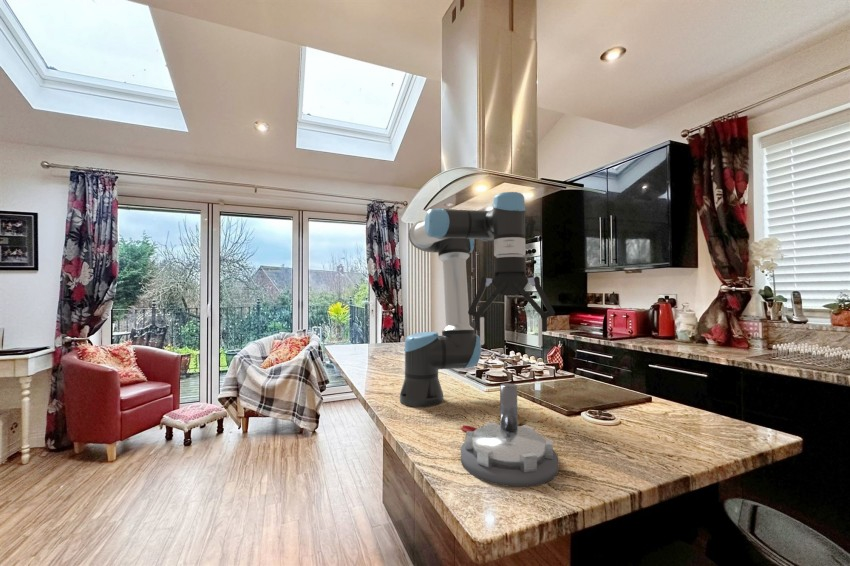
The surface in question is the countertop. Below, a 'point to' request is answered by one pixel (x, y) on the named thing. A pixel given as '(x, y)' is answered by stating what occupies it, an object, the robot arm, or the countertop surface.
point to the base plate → (510, 471)
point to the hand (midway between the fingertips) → (510, 345)
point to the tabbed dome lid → (509, 439)
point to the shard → (520, 417)
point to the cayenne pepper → (468, 428)
